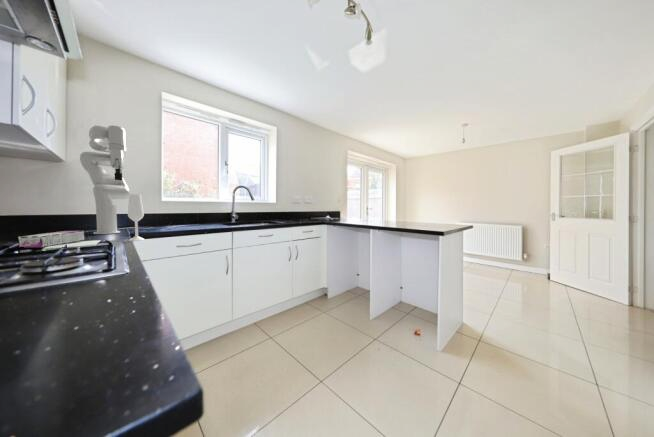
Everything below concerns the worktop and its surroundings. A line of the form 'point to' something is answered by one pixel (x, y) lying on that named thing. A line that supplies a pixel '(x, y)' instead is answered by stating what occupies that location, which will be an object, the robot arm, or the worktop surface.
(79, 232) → the candy bar box
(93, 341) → the worktop surface
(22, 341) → the worktop surface
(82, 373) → the worktop surface
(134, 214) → the champagne flute
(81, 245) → the mat
